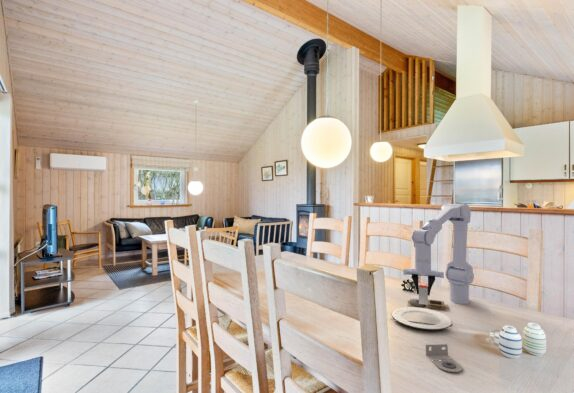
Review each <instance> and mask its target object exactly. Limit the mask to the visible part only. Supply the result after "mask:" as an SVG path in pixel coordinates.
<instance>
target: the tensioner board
mask: <svg viewBox="0 0 574 393" xmlns="http://www.w3.org/2000/svg"><path fill="white" fill-rule="evenodd" d="M407 307H416V308H424V309H429V310H434V311H443V312H451V310H450V309H451V308H450V306H449V304H446V303H445V302H444V301H443V300H435V299H428V305H425V304H419V298H410V299H408V300H407Z"/></svg>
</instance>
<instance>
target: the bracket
mask: <svg viewBox="0 0 574 393" xmlns="http://www.w3.org/2000/svg"><path fill="white" fill-rule="evenodd" d="M448 347H449V346H448V344H447V343H446V344H443V343H442V344H439V343H437V344H425V356H449V352H448V350H449V348H448ZM430 348H431V349H430ZM443 348H445V349H443ZM440 359H441V361H439V360H433V361H431V362H432V363H433V364H434V365H435V366H436V367H437V368H438V369H440V370H442V371H445V372H449V373H460V372H462V371H463V367H462V366H463V365H461V364H459V363H458V362H457V361H456V360H454V359H453V358H440Z"/></svg>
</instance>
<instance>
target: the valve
mask: <svg viewBox="0 0 574 393" xmlns="http://www.w3.org/2000/svg"><path fill="white" fill-rule="evenodd" d="M410 279H411V280H410ZM410 279H406V280H405V279H403V280H402V283H401V284H400V286H401V287H403V288H402V291H407V292H412V293H414V290H416V287H415V284H414V282H413V280H412V275H410ZM419 283H421V282H420V276H418V287H419Z"/></svg>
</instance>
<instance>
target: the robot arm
mask: <svg viewBox="0 0 574 393" xmlns="http://www.w3.org/2000/svg"><path fill="white" fill-rule="evenodd" d="M440 207H441V208H440V212H439V213H438V214H437V216H436V217H434V218H429V219H428V221H426V222H425V224H424V225H422V227H421V228H417V229H415V230H413V232H412V235H411V240H412V243H413V247H414V249H415V250H414V253H415V255H414V259H415V260H414V261H415V262H414V264H415V266H414V268H403V270H402V271H403V275H404V276H407V275H408V276H411V275H412V280H413V282H414V284H415V287H416V289H415V291H416V295H419V287H418V280H419V279H418V276H419V277H420V276H422V277H427V284H428V297H430V294H431V291H432V287H433V285H434V283H435V282H436V278H441V279H445V277H446V280H447V281H448V283H449V293H450V294H449V296H450V297H449V298H450V299H449V300H450V302H452V303H453V304H458V305H459V304H460V305H469V303H470V285H471V284H472V283H473V282H474V279H475V278H474V277H475V276H474V274H475V273H474V269H473V266H472V265H471V264H470V263H469V262H468V261H467V247H468V246H467V245H468V244H467V241H468V224H470V223H471V213H472V212H471V211H472V209H471V208H470V206H469V204H467V203H443V205H442V206H440ZM447 221H449V222H450V223H452V224H453V225H454V226H453V245H452V247H453V248H452V249H453V250H452V260H450V262H448V263H447V264H446V269H445V273H444V271H439V270H438V271H436V270H432V245H433V244H434V241H435V239H436V236H437V235H438V234H439V233H440V231H442V229H443V224H445V223H446V222H447Z"/></svg>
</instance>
